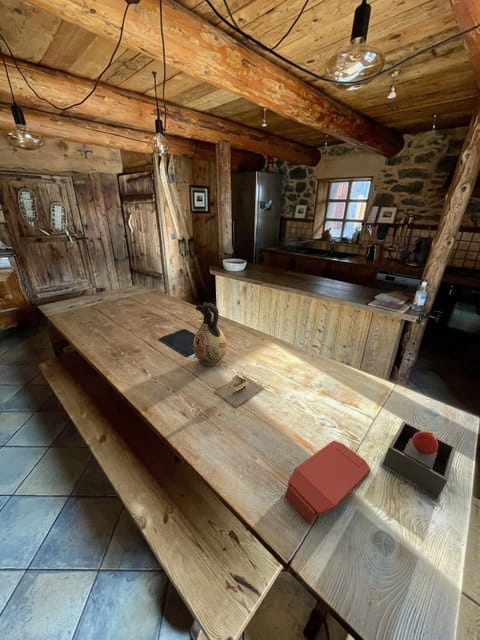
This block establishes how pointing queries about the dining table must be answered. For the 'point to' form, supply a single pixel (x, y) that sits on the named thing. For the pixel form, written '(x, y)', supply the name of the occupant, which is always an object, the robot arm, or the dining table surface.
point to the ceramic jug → (209, 337)
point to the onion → (425, 442)
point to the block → (419, 455)
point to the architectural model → (239, 390)
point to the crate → (414, 470)
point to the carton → (325, 480)
